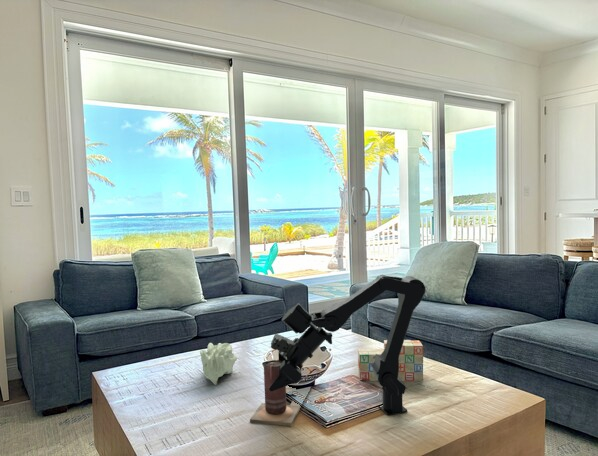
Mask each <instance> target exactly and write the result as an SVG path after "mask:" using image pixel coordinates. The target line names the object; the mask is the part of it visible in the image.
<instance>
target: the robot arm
mask: <svg viewBox="0 0 598 456" xmlns="http://www.w3.org/2000/svg"><path fill="white" fill-rule="evenodd" d="M385 291H386V292H393V293H396V294H397V299H398V300H397V301H398V302H397V304H398V305H397V308H396V312H395V314H394V318H393V320H392V325H391V328H390V331H389V334H388V337H387V339H386V340H387V343H386V346H385V350H384V351H383V353H382V354H381V355H378V354H376V355H375V361H374V363H373V365H372V368H373V373H374V375H375V377H376V379H377V383H379V385H380V386H381V388H382V389H381V396H382V397H381V398H382V399H381V400H382V401H381V402H382V403H381V404H383V406H382V407H380V408H381V409H380V408H379V409H380V410H381V411H382V412H383V413H384V414H385V415H387V416H391V415H397V414H403V413H404V414H405V413H408V409H407V408H406V407H405V406H404V405H403V395H404V394H405V392H406V390H407V386H406V385H405V383H404V381H401V380H400V378H399V377H398V374H399V355H400V352H401V349H402V345H403V342H404V340H406V335H407V334H408V333H407V332H408V330H409V326H410V323H411V320H412V316H413V313H414V311H415V309H416V308H417V307H418V306H419V304H420V303H421V301H422V300H423V298H424V296H425V294H426V286H425V284H424V282H423V281H421V280H420V279H418V278H416V277H414V276H411V275H408V276H405V277H397V276H391V275H385V274H379V275H377V277H375V279H373V280H371V281H370V282H369V283H367V284H366V285H364V286H363V287H362V288H360V289H358V291H356V292H354V293H353V294H351V295H350V296H349V297H347V298H346V299H345V300H342V301H340V302H337V303H333V304H331V305H329V306H327V307H325V308H324V309H322V310H321V311H319V312H318V311H317V312H312V313H310V312H308V311H307V310H305V308H304V307H303V306H302V305H301V303H297V304H296V305H294V306H292V307H291V308H290V309H288V310H287V311H286V312H285V314H284V315H283V317H282V318H281V322H283V323H284V324H285V325H286V326H287V327H288V328H289V329H291V330H292V332H294V333H295V335H297V334H301V335H300V336H299V337H295V338H294V339H293V340H292V339H290V338H287V337H285V336H283V335H281V334H278V333H275V334H274V336H273V337H272V341H271V342H270V348H271V349H272V350H274V351H276V350H277V351H278V352H277V353H278V359H277V360H279V361H282V363H281V365H280V366H279V374H278V376H277V377H276V378H275V380H274V381H273V383H272V384H271V386H270V387H269V390H270V391H271V392H272V391H274V390H277V389H280V388H282V387H285V386H288V385H291V384H295V383H296V384H298V383H299V382H300V381H301V380H303V376H302V375H303V374H302V370H301V369H302V368H303V367H304V365H303V364H304V363H306V361H307V360H308V359H312V358H313V356H314V355H313V354H314V353H315V352H316V350H317V349H318V348H320V346H321V345H322V344H323V343H324V342H325V341H326V342H327V343H328V344H329V345H332V344H333V340H332V339H333V333H334V332H338V331H339V330H340V329H341V328H342V327H343V326H344V325H345V324H346V323H347V321H349V319H350V317H351V316H352V315H354V313H356V312H357V311H359V310H360V309H361V308H363V307H364V306H365V305H367V304H369V303H370V302H371V301H373V300H374V299H376V298H377V297H378V296H380V295H381V294H383V293H384V292H385Z"/></svg>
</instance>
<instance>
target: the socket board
mask: <svg viewBox="0 0 598 456" xmlns="http://www.w3.org/2000/svg"><path fill="white" fill-rule="evenodd" d="M292 390H296V388H292V387H289V386H286V392H289V391H292ZM300 408H301V409H302V407H301V406H300V405H299V404H297V403H295V402H294V401H293V400H292V401H291V403H290V404H286V410H285V412H284V413H282V414H278V415H272V414H269V413H267V412H266V410H265V402H262V403H261V404H259V406H258V408H257V409H256V410H255V412H254V413H253V414H252V416H251V417H250V418H249V423H254V424H255V423H256V424H266V425H267V424H268V425H275V426H276V425H278V426H287V427H288V426H289V427H291V426H293V424H294V422H295V420H296V418H297V416H298V414H299V412H300V411H301V409H300Z"/></svg>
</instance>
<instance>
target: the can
mask: <svg viewBox="0 0 598 456" xmlns="http://www.w3.org/2000/svg"><path fill="white" fill-rule="evenodd" d="M281 363H282V361H279V360H278V359H277V360H276V359H274V360H269V361H266V362H265V363H264V365H263V379H264V380H263V381H264V383H263V384H264V385H263V386H264V403H265V410H266V412H267V413H269V414H272V415H278V414H282V413H284V412H285V410H286V405H287V395H286V386H285V387H282V388H280V389H277V390H274V391H272V392H271V391H270V390H269V387H270V386H271V384H272V383H273V381H274V380H275V378H276V377H277V376H278V374H279V366H280V365H281Z"/></svg>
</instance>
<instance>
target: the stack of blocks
mask: <svg viewBox="0 0 598 456" xmlns="http://www.w3.org/2000/svg"><path fill="white" fill-rule="evenodd" d="M387 340H388V339H386V340H385V339H384V340H383V348H358V349H357V350H358V351H357V354H358V358H357V360H358V362H357V363H358V365H357V366H358V377H359V380H360V379H363V380H366V381H367V382H368V381H372V382H373V381H374V382H375V381H377V379H376V377H375V375H374V373H373V368H372V365H373V363H374V361H375V355H376V354H378V355H381V354H382V353H383V351H384V350H385V346H386V343H387ZM398 377H399V378H400V380H401V381H402V382H404V381H405V382H406V381H407V382H414V381H415V382H421V381H422V382H423V381H424V346H423V344H422V342H421V341H420V340H411V339H404V342H403V345H402V349H401V352H400V355H399V374H398ZM366 381H365V382H366ZM377 382H378V381H377Z"/></svg>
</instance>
